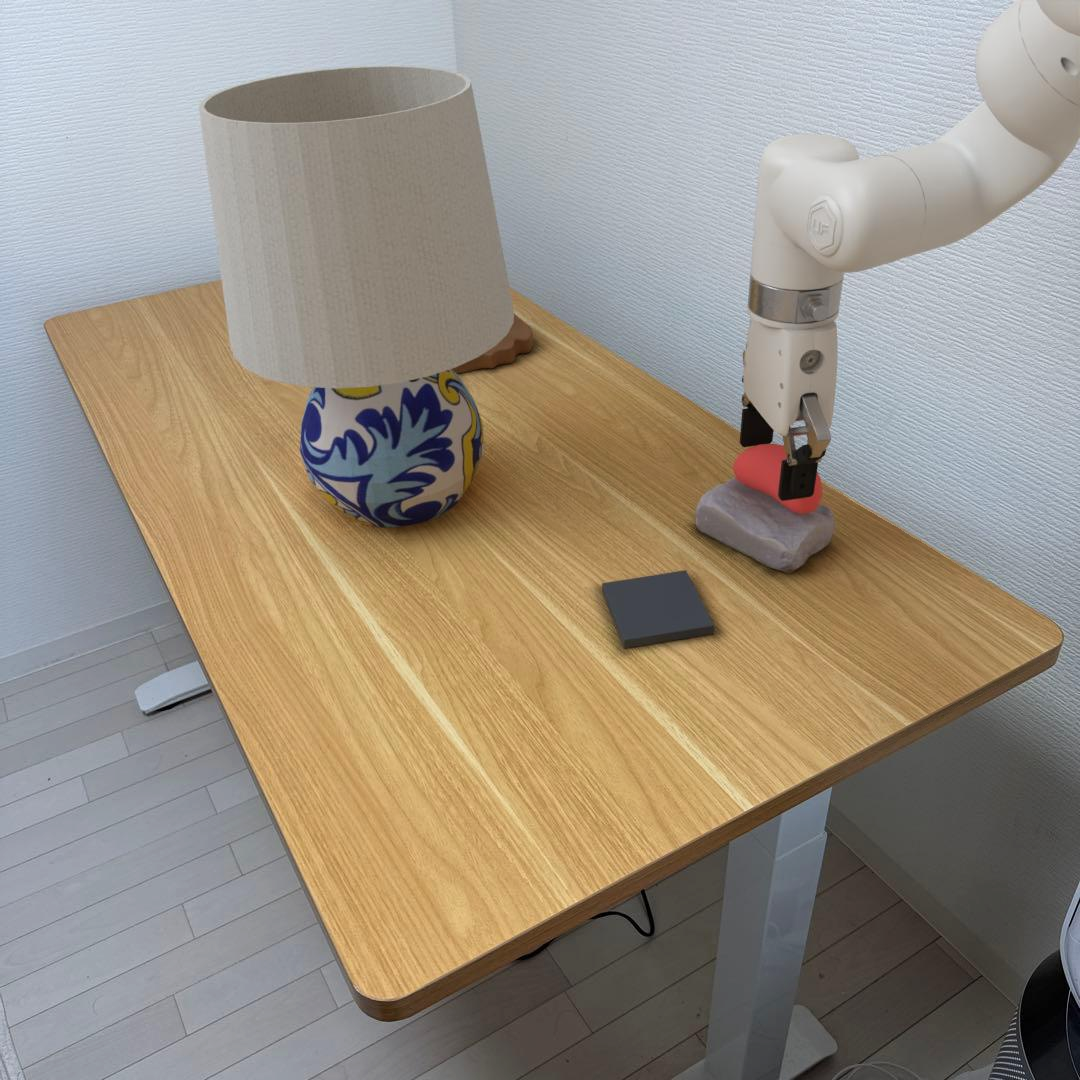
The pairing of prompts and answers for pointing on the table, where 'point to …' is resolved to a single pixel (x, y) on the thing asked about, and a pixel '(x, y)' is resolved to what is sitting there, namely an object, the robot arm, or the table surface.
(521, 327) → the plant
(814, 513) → the stone block
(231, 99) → the table lamp
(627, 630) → the felt pad
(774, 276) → the robot arm
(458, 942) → the table surface
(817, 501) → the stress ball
